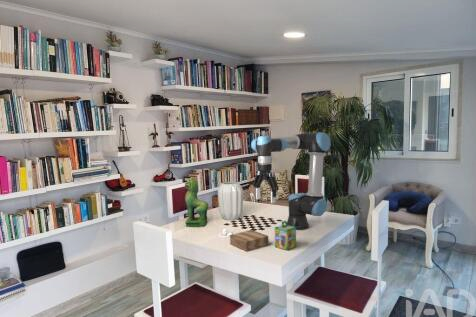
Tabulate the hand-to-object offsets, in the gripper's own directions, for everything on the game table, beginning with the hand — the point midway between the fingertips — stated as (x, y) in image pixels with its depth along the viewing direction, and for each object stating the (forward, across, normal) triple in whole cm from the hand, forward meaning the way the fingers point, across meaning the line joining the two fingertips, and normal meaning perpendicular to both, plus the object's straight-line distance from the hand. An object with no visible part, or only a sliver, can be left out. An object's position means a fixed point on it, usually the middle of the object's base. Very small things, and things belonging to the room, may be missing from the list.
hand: (265, 200), depth 189 cm
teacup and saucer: (+27, -31, -8) cm, 42 cm away
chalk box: (+27, +6, +9) cm, 29 cm away
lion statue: (+27, -67, -10) cm, 73 cm away
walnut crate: (+27, -9, -6) cm, 29 cm away
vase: (+27, -67, +19) cm, 75 cm away
